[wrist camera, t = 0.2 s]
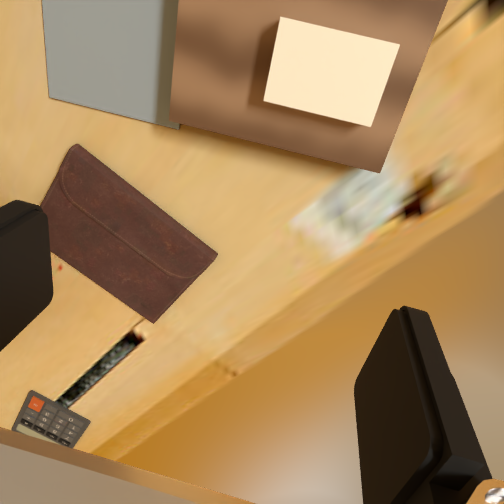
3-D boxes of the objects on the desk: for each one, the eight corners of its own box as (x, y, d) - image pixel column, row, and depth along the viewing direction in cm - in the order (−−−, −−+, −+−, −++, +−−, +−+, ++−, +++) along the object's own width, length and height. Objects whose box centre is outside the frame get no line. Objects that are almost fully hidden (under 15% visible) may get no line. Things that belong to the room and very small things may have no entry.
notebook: (156, 317, 53) (151, 327, 52) (32, 229, 49) (22, 236, 48) (219, 251, 46) (215, 259, 45) (80, 141, 42) (70, 146, 41)
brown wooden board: (197, -61, 31) (184, -71, 28) (439, -6, 30) (451, -11, 27) (180, 114, 38) (168, 120, 35) (375, 162, 38) (379, 173, 35)
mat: (37, -90, 32) (35, -91, 32) (197, -53, 31) (196, -54, 31) (51, 96, 40) (49, 97, 39) (179, 128, 39) (178, 129, 39)
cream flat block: (283, 17, 30) (280, 16, 28) (395, 44, 29) (400, 44, 28) (266, 97, 33) (263, 100, 31) (368, 122, 33) (370, 127, 31)
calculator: (89, 424, 67) (65, 459, 75) (92, 419, 68) (68, 454, 76) (28, 392, 66) (10, 431, 73) (32, 388, 66) (13, 427, 74)
